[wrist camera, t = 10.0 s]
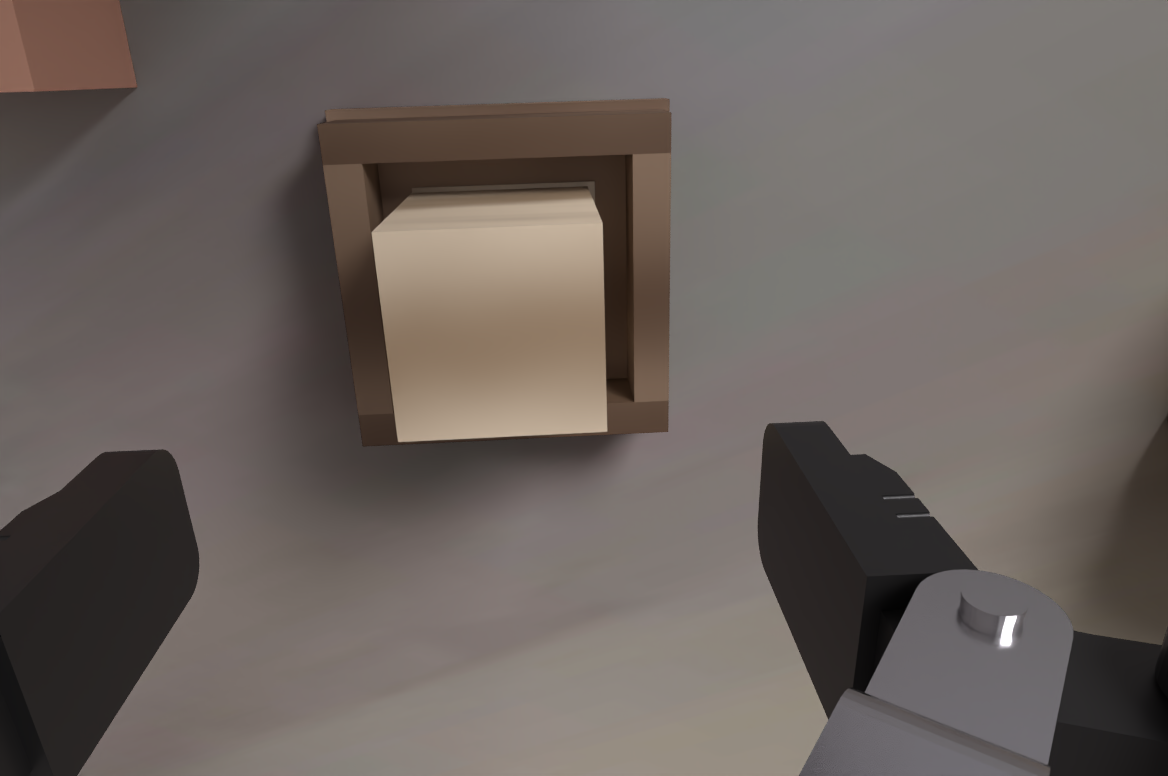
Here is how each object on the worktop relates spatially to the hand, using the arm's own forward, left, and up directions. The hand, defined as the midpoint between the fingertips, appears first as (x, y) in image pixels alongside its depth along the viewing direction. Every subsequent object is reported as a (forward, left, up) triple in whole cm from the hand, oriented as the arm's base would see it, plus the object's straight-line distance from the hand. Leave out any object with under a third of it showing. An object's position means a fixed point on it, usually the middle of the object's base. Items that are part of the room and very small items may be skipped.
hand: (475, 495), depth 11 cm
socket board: (0, 0, -15) cm, 15 cm away
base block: (0, 0, -14) cm, 14 cm away
